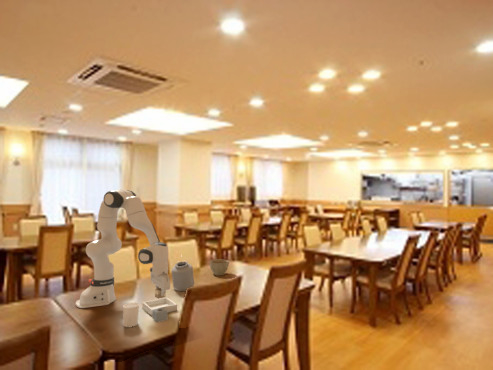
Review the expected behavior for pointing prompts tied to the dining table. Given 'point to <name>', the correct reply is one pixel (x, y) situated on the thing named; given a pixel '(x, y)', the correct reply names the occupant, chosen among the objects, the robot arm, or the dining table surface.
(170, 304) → the cream tray
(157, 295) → the maple block
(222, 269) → the planter bowl
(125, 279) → the dining table surface
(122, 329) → the dining table surface
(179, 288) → the jar
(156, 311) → the slate block
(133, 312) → the white cup
